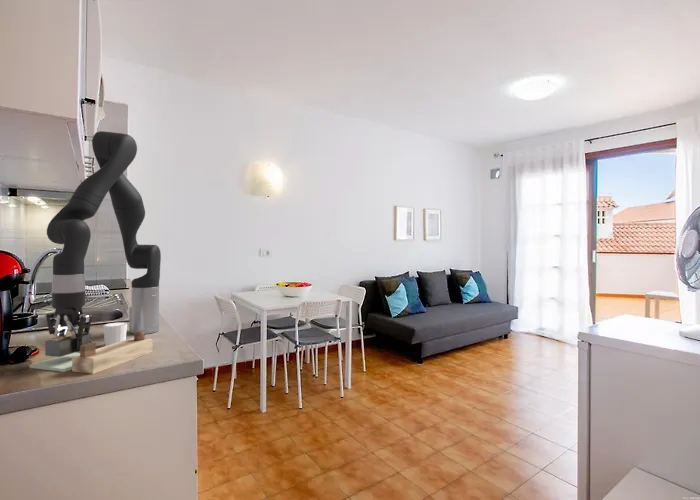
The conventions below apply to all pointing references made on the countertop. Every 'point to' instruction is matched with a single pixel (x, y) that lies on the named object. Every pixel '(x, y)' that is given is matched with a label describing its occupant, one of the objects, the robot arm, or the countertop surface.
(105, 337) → the white cup
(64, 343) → the dark gray block
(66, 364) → the mat
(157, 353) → the countertop surface
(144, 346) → the body
